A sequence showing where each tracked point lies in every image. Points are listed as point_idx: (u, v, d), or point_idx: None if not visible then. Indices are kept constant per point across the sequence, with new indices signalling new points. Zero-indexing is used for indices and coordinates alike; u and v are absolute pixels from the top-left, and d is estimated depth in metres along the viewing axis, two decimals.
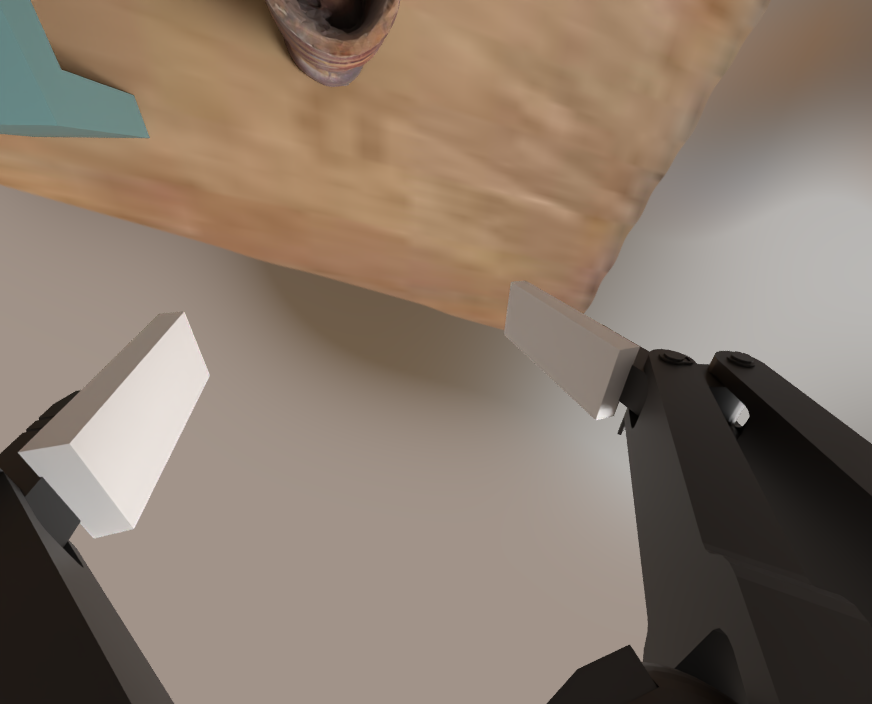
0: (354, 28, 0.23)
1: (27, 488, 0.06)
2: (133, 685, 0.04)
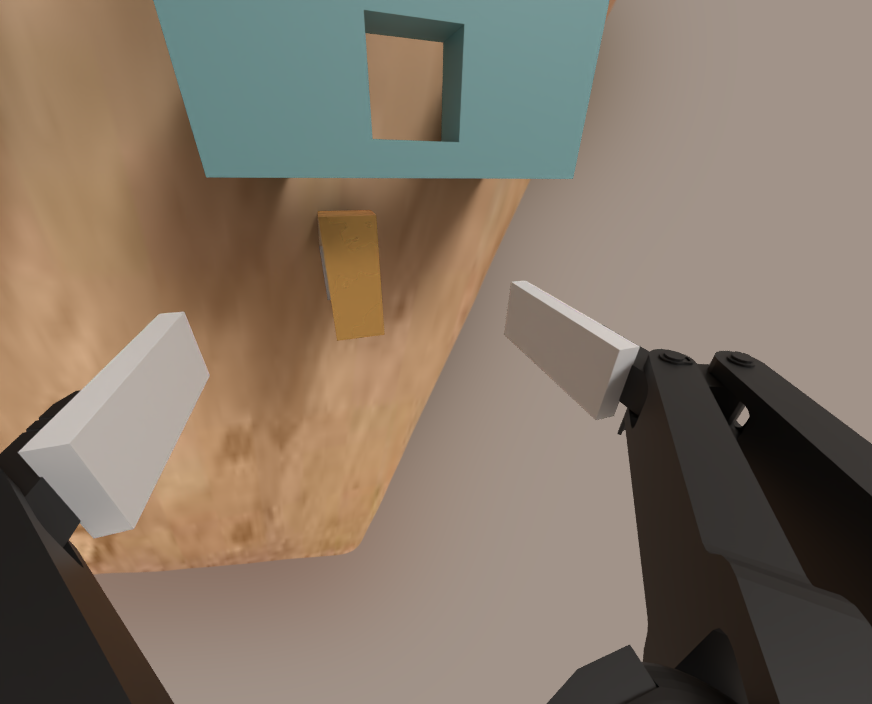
0: None
1: (27, 488, 0.06)
2: (133, 685, 0.04)
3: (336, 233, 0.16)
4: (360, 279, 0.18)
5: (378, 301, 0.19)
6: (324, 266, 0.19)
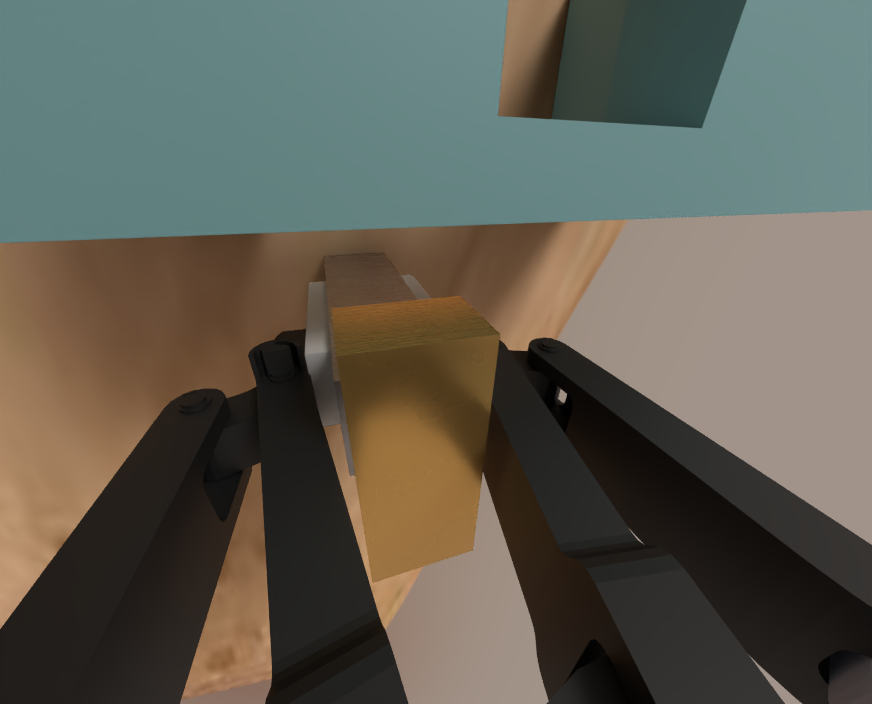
0: None
1: None
2: None
3: (387, 389, 0.06)
4: (438, 473, 0.07)
5: (471, 502, 0.08)
6: (344, 419, 0.08)
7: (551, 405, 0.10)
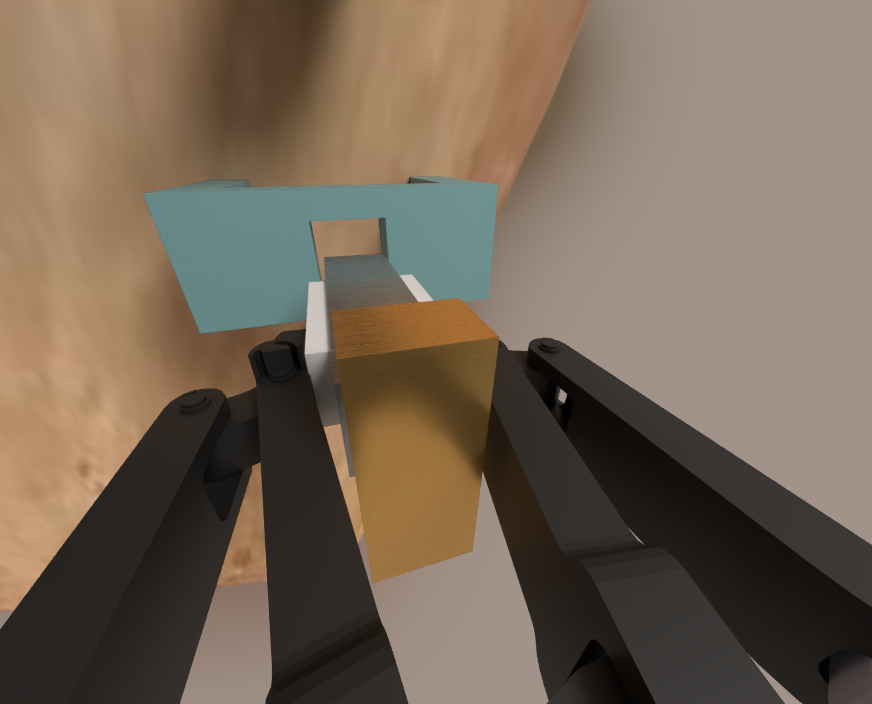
0: None
1: None
2: None
3: (387, 391, 0.06)
4: (438, 475, 0.07)
5: (470, 504, 0.08)
6: (344, 420, 0.08)
7: (551, 405, 0.10)
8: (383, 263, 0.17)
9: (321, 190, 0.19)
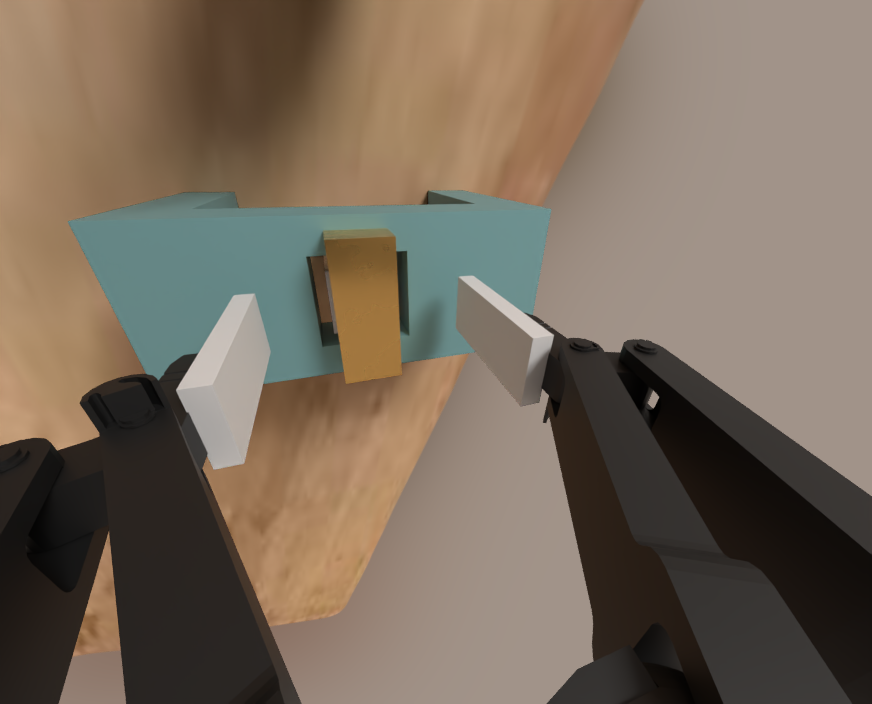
0: None
1: (180, 419, 0.08)
2: (250, 598, 0.05)
3: (346, 258, 0.13)
4: (375, 313, 0.15)
5: (396, 337, 0.16)
6: (330, 295, 0.16)
7: (639, 407, 0.10)
8: None
9: (324, 216, 0.14)
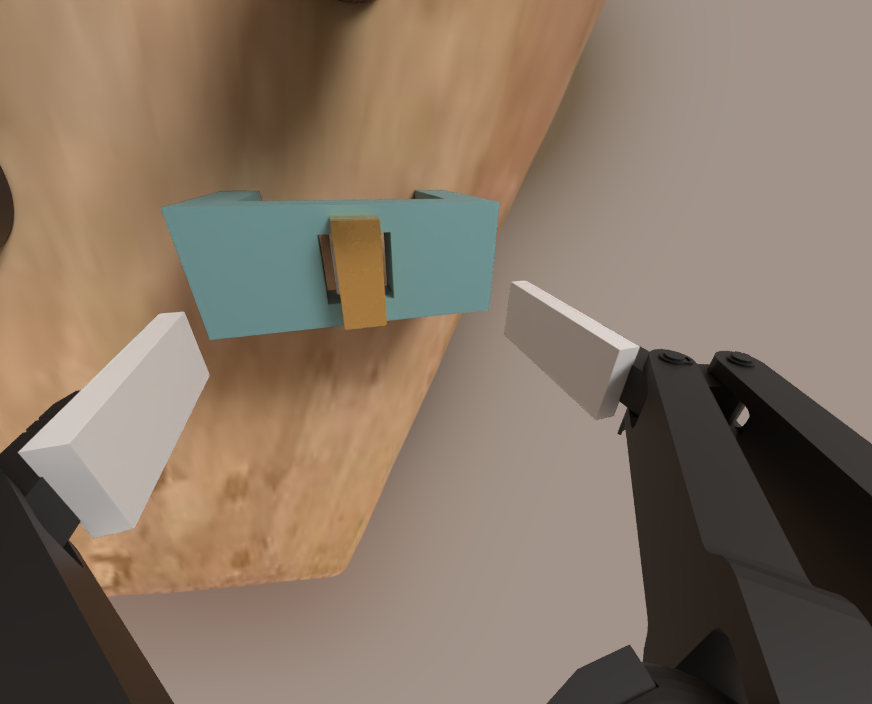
0: None
1: (27, 488, 0.06)
2: (133, 685, 0.04)
3: (345, 234, 0.19)
4: (366, 275, 0.20)
5: (382, 295, 0.21)
6: (334, 264, 0.21)
7: None
8: None
9: (330, 206, 0.20)
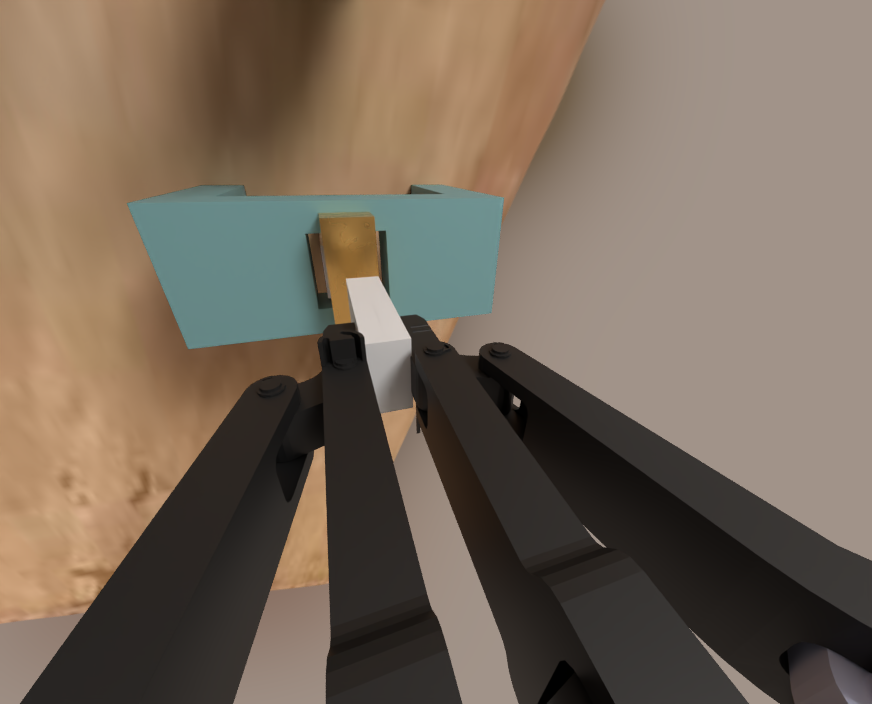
0: None
1: None
2: None
3: (336, 233, 0.17)
4: None
5: None
6: (325, 265, 0.20)
7: (506, 411, 0.10)
8: None
9: (319, 201, 0.18)
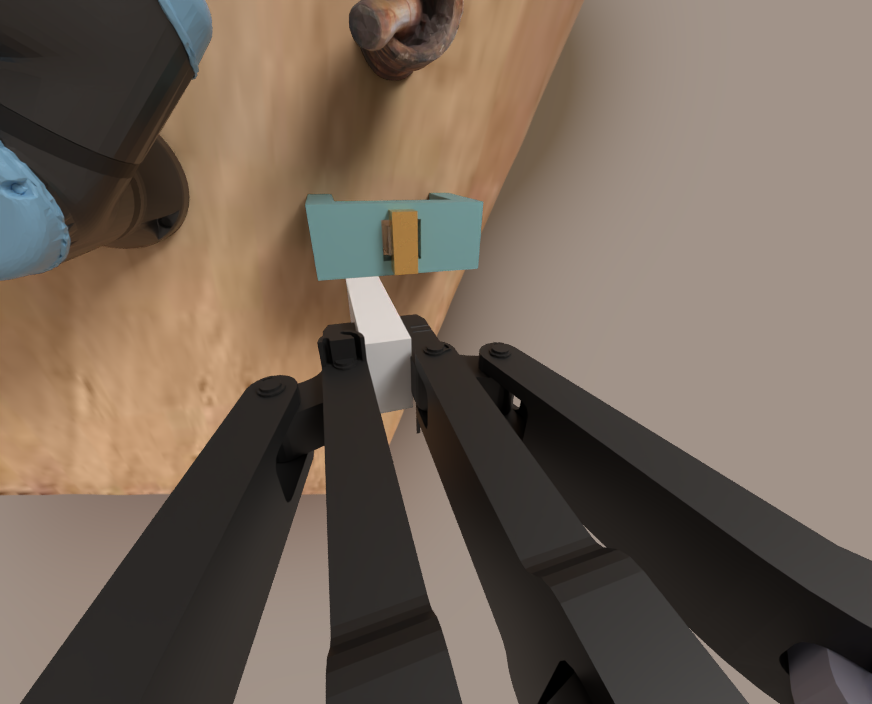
0: None
1: None
2: None
3: (399, 219, 0.35)
4: (408, 242, 0.37)
5: (416, 254, 0.38)
6: (389, 237, 0.38)
7: (506, 411, 0.10)
8: None
9: (389, 204, 0.36)
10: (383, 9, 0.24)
